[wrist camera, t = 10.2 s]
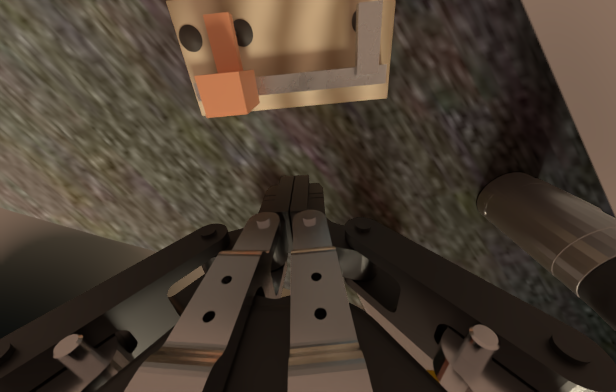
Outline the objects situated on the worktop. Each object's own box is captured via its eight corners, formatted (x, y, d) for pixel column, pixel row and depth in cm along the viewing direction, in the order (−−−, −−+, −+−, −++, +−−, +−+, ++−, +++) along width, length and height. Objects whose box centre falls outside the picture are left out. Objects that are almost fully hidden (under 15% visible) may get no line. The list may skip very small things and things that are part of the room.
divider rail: (386, 5, 25) (396, -2, 22) (380, 82, 29) (388, 84, 26) (183, 27, 25) (168, 23, 23) (204, 99, 29) (194, 102, 27)
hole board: (393, -22, 24) (398, -26, 23) (384, 96, 31) (387, 98, 30) (171, 3, 25) (165, 0, 24) (205, 113, 31) (202, 115, 30)
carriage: (247, 19, 25) (223, 0, 17) (262, 100, 29) (247, 114, 22) (212, 23, 25) (172, 6, 17) (232, 103, 29) (206, 117, 22)
